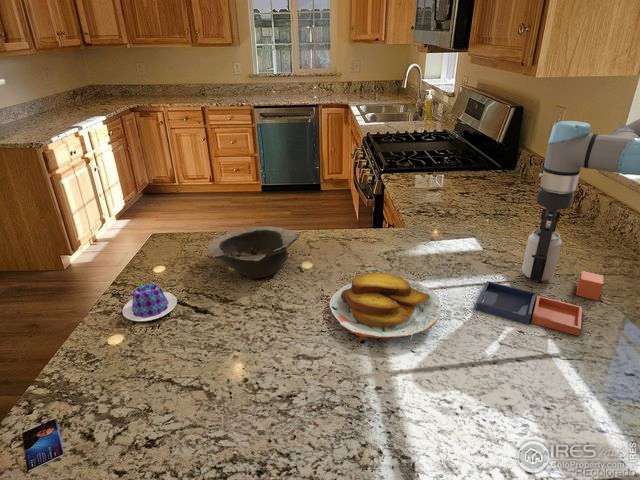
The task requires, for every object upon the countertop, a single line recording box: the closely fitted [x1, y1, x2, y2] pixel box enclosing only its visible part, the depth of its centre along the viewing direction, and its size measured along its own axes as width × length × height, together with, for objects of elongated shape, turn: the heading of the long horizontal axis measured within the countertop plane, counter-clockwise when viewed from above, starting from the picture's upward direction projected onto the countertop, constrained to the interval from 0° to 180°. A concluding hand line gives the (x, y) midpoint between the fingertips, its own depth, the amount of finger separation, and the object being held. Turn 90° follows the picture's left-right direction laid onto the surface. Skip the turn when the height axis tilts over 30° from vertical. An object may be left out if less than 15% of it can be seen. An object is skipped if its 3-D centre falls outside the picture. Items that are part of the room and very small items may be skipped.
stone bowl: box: [206, 225, 301, 280], centre depth 117 cm, size 25×25×9 cm
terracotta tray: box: [530, 295, 583, 337], centre depth 95 cm, size 9×9×2 cm
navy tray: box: [475, 280, 537, 325], centre depth 99 cm, size 11×11×2 cm
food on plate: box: [328, 271, 443, 342], centre depth 96 cm, size 25×25×7 cm
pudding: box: [122, 283, 178, 322], centre depth 98 cm, size 12×12×5 cm
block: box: [575, 270, 604, 301], centre depth 103 cm, size 5×5×5 cm
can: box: [521, 228, 563, 282], centre depth 108 cm, size 8×8×12 cm
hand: (537, 272), depth 110 cm, fingers closed on can, 7 cm apart
